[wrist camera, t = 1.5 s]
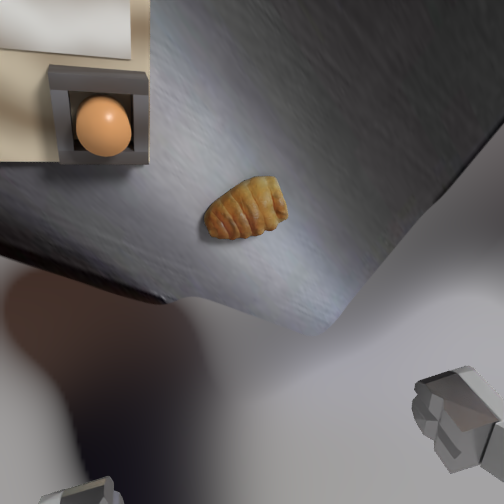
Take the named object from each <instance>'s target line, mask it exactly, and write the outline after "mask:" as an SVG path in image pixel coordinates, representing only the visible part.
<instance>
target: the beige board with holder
mask: <svg viewBox="0 0 504 504" xmlns="http://www.w3.org/2000/svg"><path fill="white" fill-rule="evenodd" d="M95 94H104V95H108V96H111V97H113V98H115V99H116V100H118V101H119V102H120V103H121V104H122V106H123V107H124V109H125V111H126V113H127V117H128V120H129V124H130V128H131V139H130V142H129V144H128V146H127V147H126V148H125V150H123V151H122V152H121V153H119V154H117V155H114V156H108V157H104V156H98V155H95V154H93V153H91V152H89V151H88V150H86V149H85V148H84V147H83V146H82V144H81V143H80V141H79V139H78V137H77V132H76V113H77V109H78V106H79V105H80V103H81V102H82V101H83V100H84V99H85V98H87V97H89V96H91V95H95ZM149 142H150V0H0V162H60V164H120V165H149Z"/></svg>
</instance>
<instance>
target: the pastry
mask: <svg viewBox="0 0 504 504" xmlns="http://www.w3.org/2000/svg"><path fill="white" fill-rule="evenodd" d="M287 218H288V211H287V205H286V202H285V200H284V198H283V194H282V192H281V189H280V187H279V184H278V182H277V179H276V178H275V177H273V176H257V177H253V178H251V179H248V180H244V181H243V182H241V183H240V184H238V185H236V186H235V187H234V188H232V189H230V190H229V191H228V192H227V193H225V194H224V195H222V196H221V197H220V198H218V199H217V200H216V201H215V202H213V203H212V204H211V206H210V207H209V209H208V210H207V211H206V213H205V216H204V222H205V225H206V227H207V229H208V231H209V234H210V235H211V236H212V237H216V238H218V239H230V240H234V239H236V238H244V239H246V238H248V237H249V236H257V235H261V234H263V232H264V231H265V230H267V231H273V230H274V229H276V227H277V225H278V223H280V222H282V221H284V220H286V219H287Z"/></svg>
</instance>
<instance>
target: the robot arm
mask: <svg viewBox="0 0 504 504" xmlns="http://www.w3.org/2000/svg"><path fill="white" fill-rule="evenodd" d="M414 390H415V392H416V393H417V394H418V395H417V396H416V397H415V398H414V399H413V401H412V412H413V415H414V419H415V421H416V423H417V425H418V427H419V428H420V430H421V431H422V433H423V434H424V435H425V436H427V437H428V438H430V439H432V440H434V451H435V452H436V454H437V455H438V456H439V457H440V459H441V461H442V462H443V464H444V465H445V467H446V468H447V469H448V471H449V472H450V474H452V473H455V472H458V471H461V470H464V469H468V468H471V467H474V466H477V465H480V464H481V466H480V467H482V468H483V469H485V470H486V471H488V472H489V473H491V474H492V475H494V476H495V477H497V478H498V479H499V480H501V481H502V482H504V399H503V398H502V397H501V396H500V395H499V394H498V393H497V392H496V391H495V390H494V389H493V388H492V387H491V386H490V384H489V383H488V382H486V380H485V379H484V378H483V377H482V376H481V375H480V374H479V373H478V372H477V371H476V370H475V369H474V368H472V367H470V366H464V367H461V368H458V369H455V370H451V371H447V372H444V373H441V374H438V375H435V376H432V377H429V378H426V379H423V380H420V381H418V382H417V383H416V384H415V388H414ZM113 489H114V483H113V481H112V480H111V478H110V477H109V476H107V477H104V478H101V479H98V480H95V481H91V482H88V483H85V484H81V485H78V486H75V487H72V488H68V489H63V490H60V491H57V492H54V493H51V494H48V495H44V496H42V497H41V499H40V501H39V503H38V504H124V502H123V499H122V497H121V495H120V493H119V492H116V491H114V490H113Z"/></svg>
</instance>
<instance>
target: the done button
mask: <svg viewBox="0 0 504 504" xmlns="http://www.w3.org/2000/svg"><path fill="white" fill-rule="evenodd" d="M76 132H77V137H78V139H79V141H80V143H81V144H82V146H83V147H84V148H85V149H86V150H88V151H89V152H91V153H93V154H95V155H98V156H104V157H108V156H114V155H117V154H119V153H121V152H122V151H123V150H125V148H126V147H127V146H128V144H129V142H130V139H131V128H130V124H129V120H128V117H127V113H126V111H125V109H124V107H123V106H122V104H121V103H120V102H119V101H118V100H116V99H115V98H113V97H111V96H108V95H104V94H95V95H91V96H89V97H87V98H85V99H84V100H83V101H82V102H81V103H80V105H79V106H78V109H77V113H76Z"/></svg>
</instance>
